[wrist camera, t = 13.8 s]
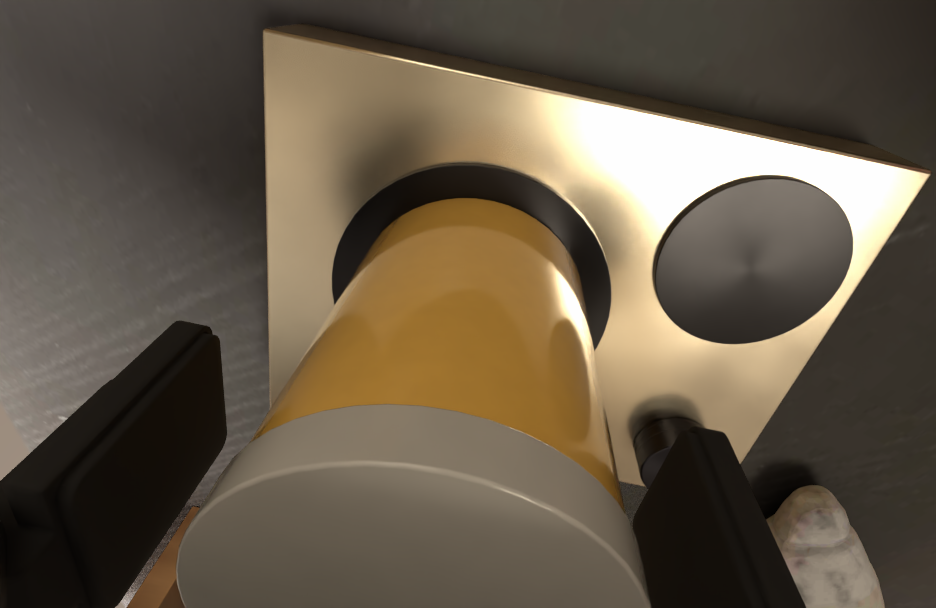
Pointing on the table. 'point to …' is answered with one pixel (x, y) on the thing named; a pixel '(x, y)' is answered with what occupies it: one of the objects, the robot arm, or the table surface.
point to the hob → (581, 218)
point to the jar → (431, 441)
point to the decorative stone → (824, 551)
